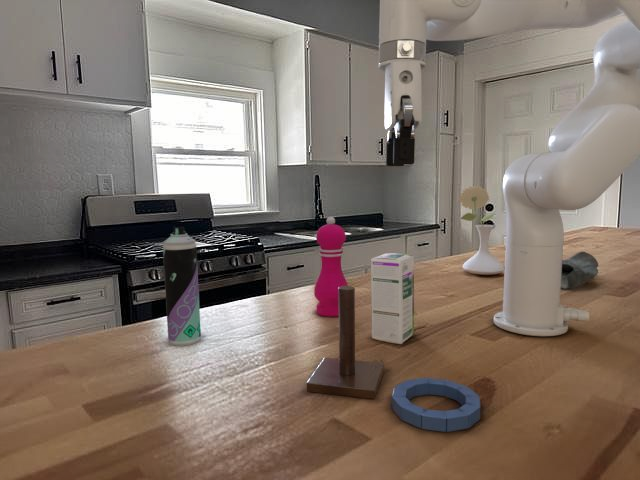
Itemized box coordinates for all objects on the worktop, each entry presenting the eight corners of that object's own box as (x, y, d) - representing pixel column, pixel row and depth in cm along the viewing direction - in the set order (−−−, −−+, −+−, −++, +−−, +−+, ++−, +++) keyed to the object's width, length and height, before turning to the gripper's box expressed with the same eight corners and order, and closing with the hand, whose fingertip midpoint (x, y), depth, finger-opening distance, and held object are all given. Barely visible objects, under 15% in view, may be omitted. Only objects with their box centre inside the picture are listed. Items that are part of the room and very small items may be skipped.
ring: (477, 394, 60) (477, 382, 60) (482, 436, 50) (482, 423, 50) (397, 385, 62) (397, 374, 62) (387, 424, 53) (387, 411, 53)
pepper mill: (346, 318, 92) (345, 218, 90) (311, 316, 94) (309, 218, 91) (351, 308, 99) (350, 215, 97) (318, 306, 101) (316, 215, 98)
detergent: (586, 293, 109) (617, 274, 126) (585, 263, 108) (616, 248, 125) (529, 288, 118) (565, 271, 135) (528, 260, 118) (564, 247, 134)
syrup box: (402, 345, 77) (403, 259, 75) (370, 338, 80) (370, 256, 78) (414, 335, 82) (415, 254, 80) (383, 329, 85) (384, 251, 83)
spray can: (171, 347, 77) (164, 229, 75) (166, 338, 82) (159, 226, 80) (204, 342, 80) (198, 227, 77) (197, 332, 85) (191, 224, 82)
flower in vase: (508, 271, 134) (511, 185, 131) (499, 279, 124) (503, 186, 121) (462, 267, 141) (464, 185, 138) (451, 274, 131) (453, 186, 128)
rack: (384, 370, 67) (384, 281, 66) (374, 399, 59) (374, 298, 57) (324, 364, 70) (323, 278, 68) (306, 391, 61) (304, 294, 59)
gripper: (437, 43, 67) (432, 163, 69) (415, 70, 84) (412, 166, 86) (384, 43, 67) (382, 163, 69) (373, 70, 84) (372, 166, 86)
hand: (399, 165), depth 78 cm, fingers open, 9 cm apart
